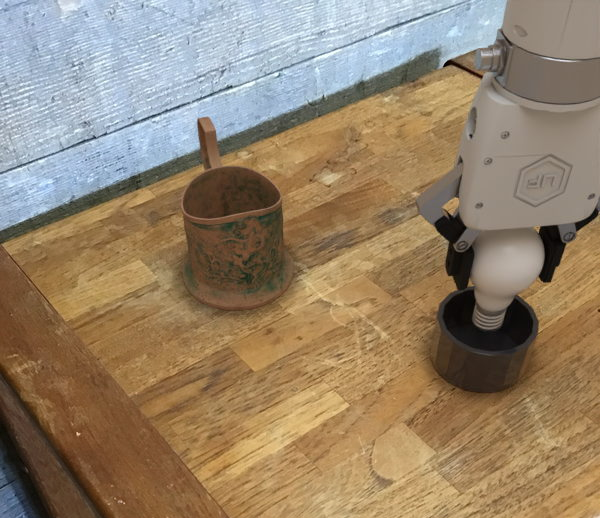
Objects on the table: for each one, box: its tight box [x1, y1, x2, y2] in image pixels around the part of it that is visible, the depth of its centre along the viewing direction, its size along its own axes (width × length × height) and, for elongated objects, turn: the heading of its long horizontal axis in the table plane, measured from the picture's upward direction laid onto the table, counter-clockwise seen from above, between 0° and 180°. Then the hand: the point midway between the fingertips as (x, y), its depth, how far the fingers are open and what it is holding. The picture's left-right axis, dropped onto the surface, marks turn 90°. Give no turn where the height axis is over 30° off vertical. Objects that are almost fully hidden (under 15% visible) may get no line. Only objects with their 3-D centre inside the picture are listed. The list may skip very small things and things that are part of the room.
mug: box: [180, 116, 295, 311], centre depth 74 cm, size 12×18×12 cm, turn 18°
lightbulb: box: [469, 227, 545, 331], centre depth 62 cm, size 6×6×11 cm
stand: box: [430, 285, 540, 394], centre depth 67 cm, size 9×9×5 cm
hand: (499, 274), depth 61 cm, fingers closed on lightbulb, 6 cm apart
